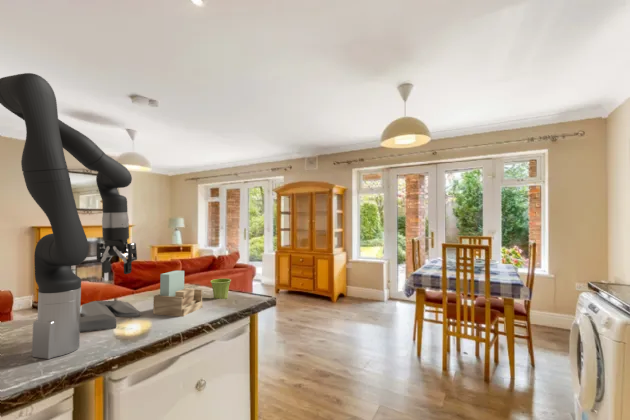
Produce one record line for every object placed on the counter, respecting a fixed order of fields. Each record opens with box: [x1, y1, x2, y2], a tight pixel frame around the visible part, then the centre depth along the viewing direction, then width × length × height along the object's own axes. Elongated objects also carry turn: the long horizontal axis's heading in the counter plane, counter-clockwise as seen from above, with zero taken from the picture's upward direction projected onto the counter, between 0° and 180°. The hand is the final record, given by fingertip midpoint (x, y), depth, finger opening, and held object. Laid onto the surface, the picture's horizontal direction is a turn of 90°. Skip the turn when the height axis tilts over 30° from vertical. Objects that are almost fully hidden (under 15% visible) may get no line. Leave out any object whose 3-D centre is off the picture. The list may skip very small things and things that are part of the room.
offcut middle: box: [183, 295, 194, 306], centre depth 118 cm, size 8×4×2 cm, turn 170°
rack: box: [152, 288, 203, 318], centre depth 119 cm, size 13×13×8 cm
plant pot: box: [210, 278, 232, 300], centre depth 141 cm, size 9×9×9 cm
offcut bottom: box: [183, 300, 196, 309], centre depth 119 cm, size 10×4×3 cm, turn 167°
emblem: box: [80, 300, 141, 333], centre depth 111 cm, size 28×5×28 cm
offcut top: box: [175, 287, 195, 299], centre depth 120 cm, size 6×4×2 cm, turn 163°
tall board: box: [159, 270, 185, 297], centre depth 120 cm, size 9×4×15 cm, turn 167°
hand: (117, 273), depth 102 cm, fingers open, 8 cm apart
